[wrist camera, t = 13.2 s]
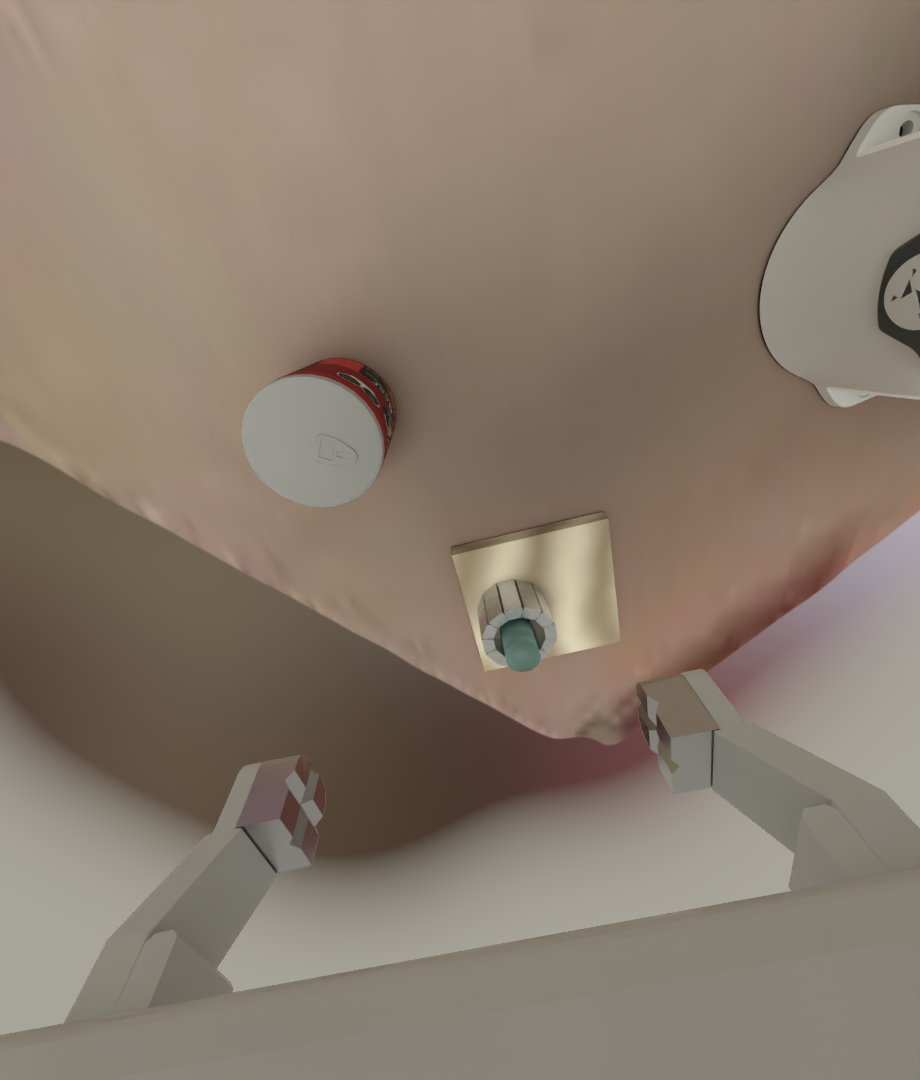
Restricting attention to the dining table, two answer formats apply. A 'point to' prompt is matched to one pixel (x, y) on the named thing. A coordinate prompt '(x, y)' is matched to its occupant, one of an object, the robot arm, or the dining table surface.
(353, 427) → the canned food
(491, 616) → the grey segmented ring
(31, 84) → the dining table surface
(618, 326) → the dining table surface
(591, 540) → the green peg on board
